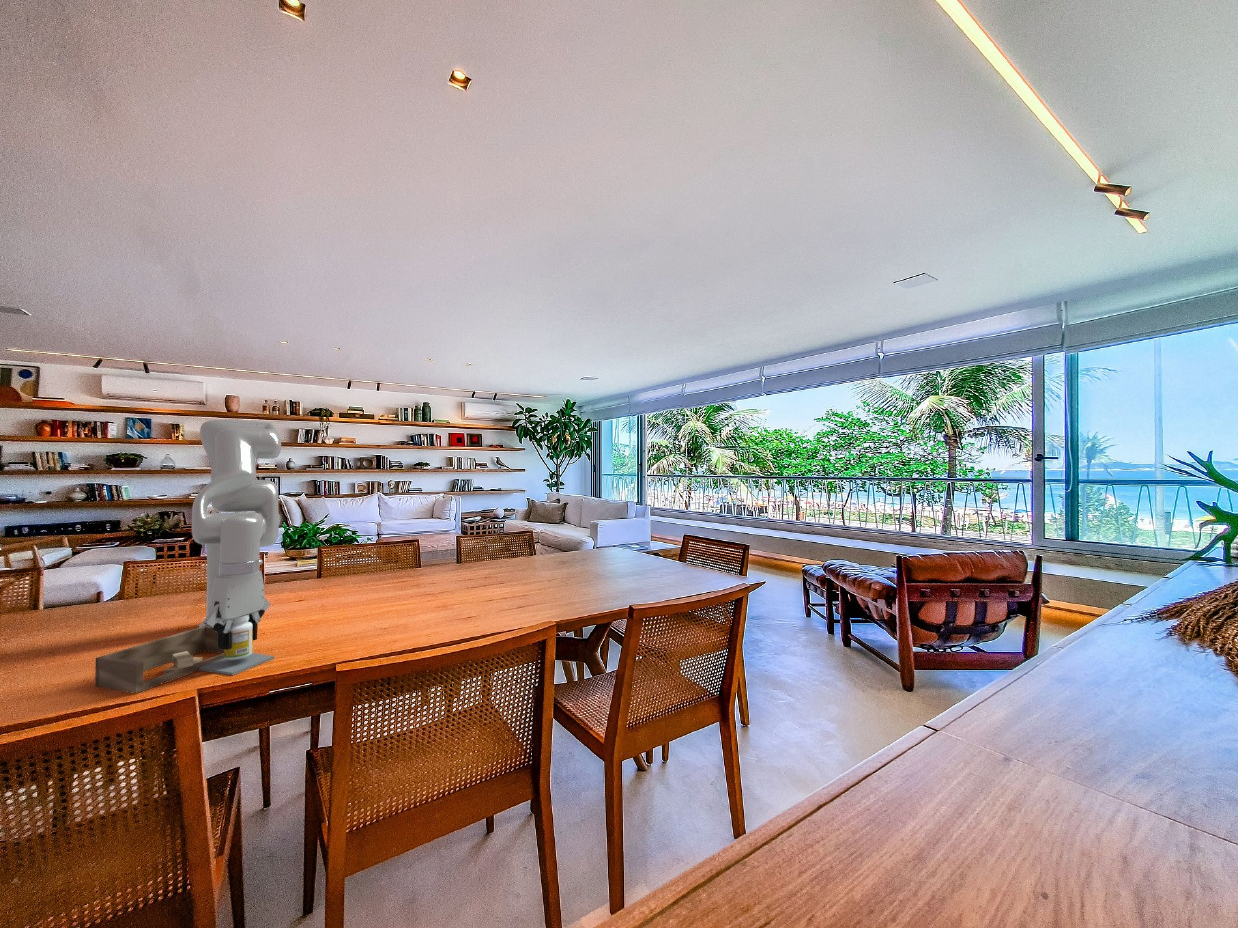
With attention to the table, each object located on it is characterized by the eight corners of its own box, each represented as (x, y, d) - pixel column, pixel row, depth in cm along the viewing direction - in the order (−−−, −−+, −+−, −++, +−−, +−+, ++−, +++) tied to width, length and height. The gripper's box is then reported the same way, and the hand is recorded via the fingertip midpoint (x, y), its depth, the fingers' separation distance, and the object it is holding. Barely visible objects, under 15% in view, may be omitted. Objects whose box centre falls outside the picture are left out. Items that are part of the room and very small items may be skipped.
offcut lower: (190, 665, 115) (190, 657, 115) (201, 665, 115) (202, 657, 115) (163, 678, 108) (164, 669, 108) (176, 678, 108) (176, 669, 108)
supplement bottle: (234, 652, 118) (234, 612, 118) (257, 651, 118) (258, 611, 118) (218, 660, 112) (218, 619, 112) (242, 660, 113) (242, 618, 113)
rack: (206, 648, 124) (206, 625, 124) (242, 653, 121) (242, 629, 121) (95, 686, 103) (95, 657, 103) (135, 693, 100) (136, 664, 100)
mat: (242, 653, 121) (242, 651, 121) (274, 658, 119) (274, 655, 119) (199, 670, 112) (199, 667, 112) (232, 675, 109) (232, 672, 109)
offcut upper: (172, 661, 112) (172, 654, 112) (187, 658, 114) (187, 650, 114) (177, 669, 108) (178, 661, 108) (193, 665, 110) (193, 657, 110)
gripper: (261, 560, 125) (260, 630, 125) (188, 574, 108) (186, 655, 108) (285, 562, 123) (283, 633, 123) (213, 577, 106) (212, 659, 106)
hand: (238, 643), depth 115 cm, fingers closed on supplement bottle, 5 cm apart
